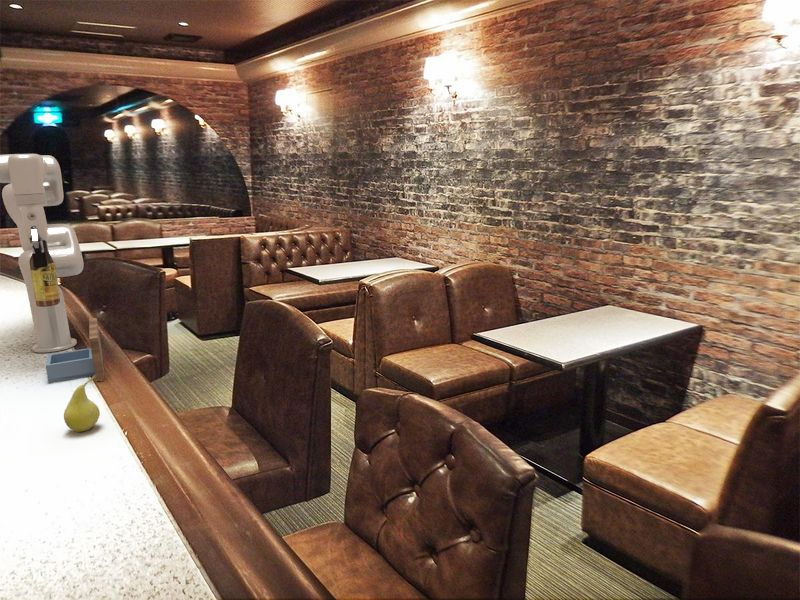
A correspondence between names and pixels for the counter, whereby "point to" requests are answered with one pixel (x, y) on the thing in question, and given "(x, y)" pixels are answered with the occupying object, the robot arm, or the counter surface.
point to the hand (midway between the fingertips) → (42, 264)
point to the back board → (96, 349)
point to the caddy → (69, 365)
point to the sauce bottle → (45, 281)
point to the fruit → (81, 410)
